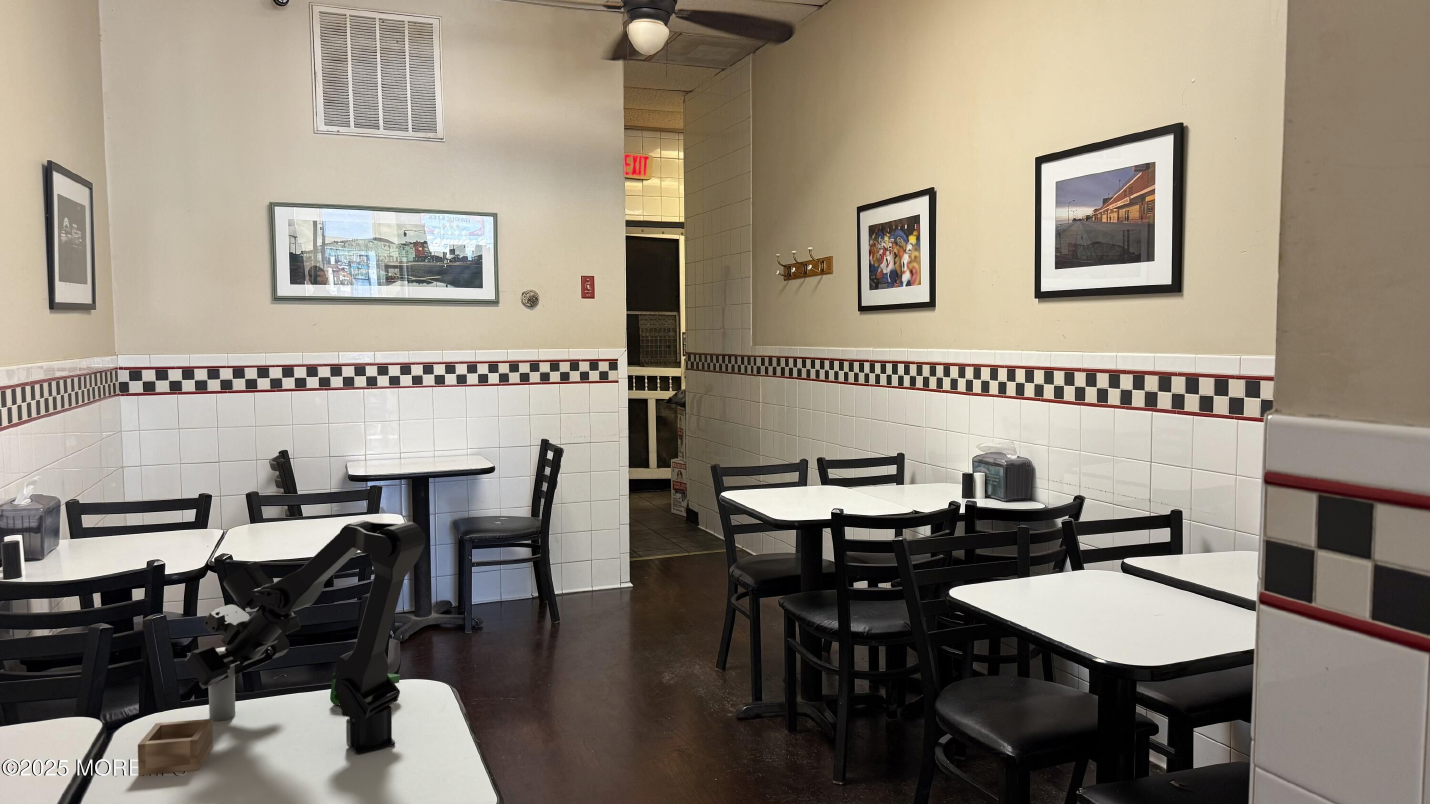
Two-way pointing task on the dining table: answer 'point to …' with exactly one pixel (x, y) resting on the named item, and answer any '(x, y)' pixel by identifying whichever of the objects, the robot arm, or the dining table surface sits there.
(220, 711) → the white rounded cylinder
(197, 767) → the end holder
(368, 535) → the robot arm
